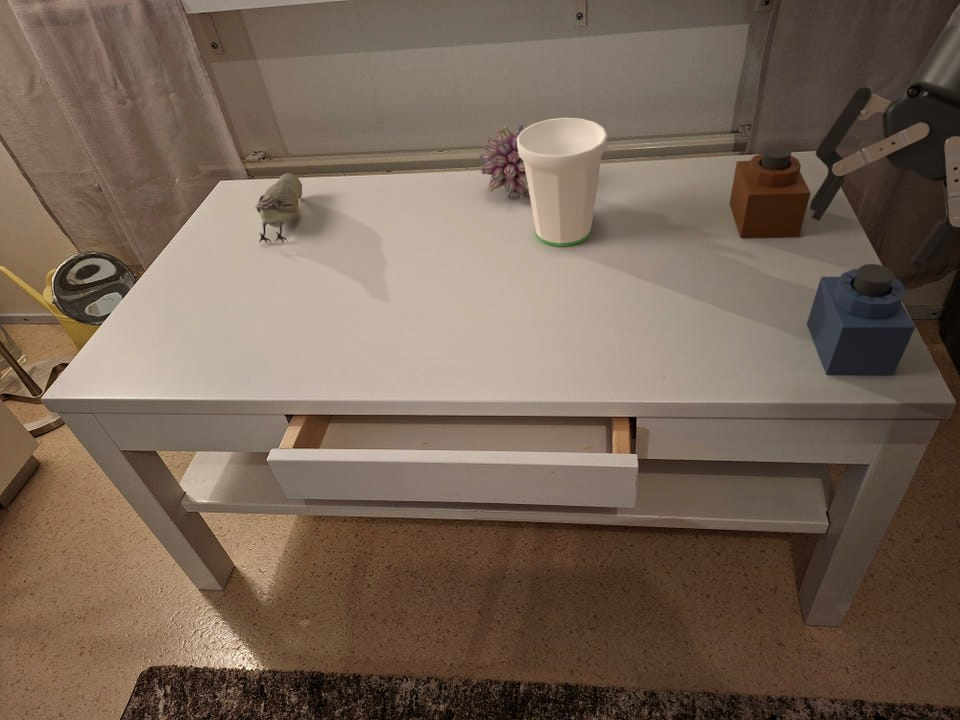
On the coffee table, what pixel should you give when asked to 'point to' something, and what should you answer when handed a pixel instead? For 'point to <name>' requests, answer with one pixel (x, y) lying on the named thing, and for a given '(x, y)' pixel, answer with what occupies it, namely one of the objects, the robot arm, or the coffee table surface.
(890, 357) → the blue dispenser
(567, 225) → the cup
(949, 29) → the robot arm
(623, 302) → the coffee table surface
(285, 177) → the decorative bird
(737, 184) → the brown block with collar
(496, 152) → the flower
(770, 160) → the grey round disc
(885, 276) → the dark grey round cap
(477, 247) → the coffee table surface
